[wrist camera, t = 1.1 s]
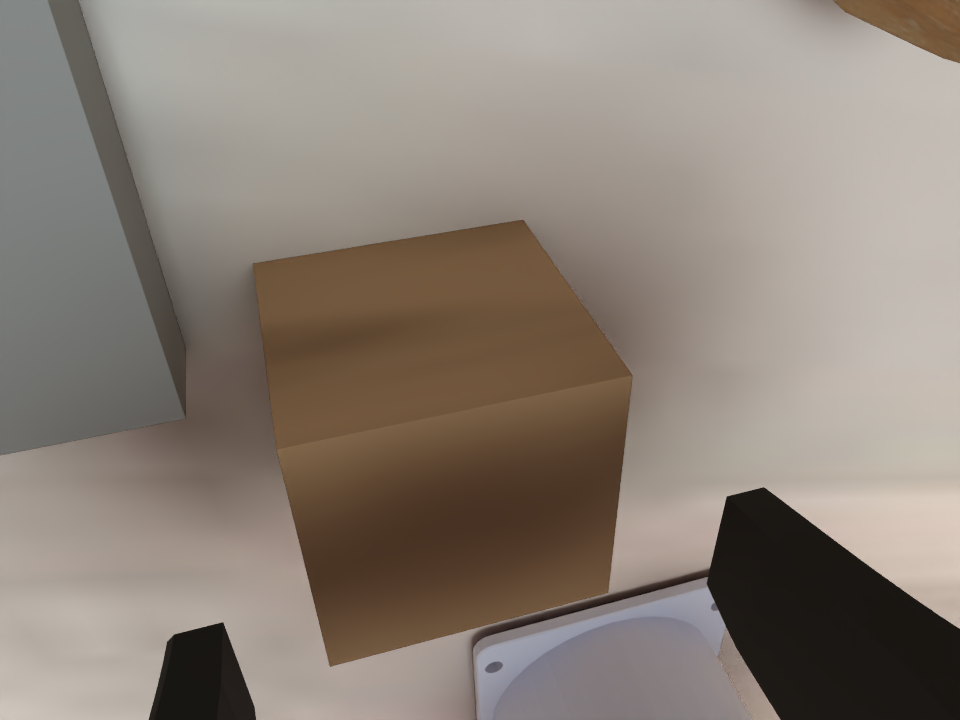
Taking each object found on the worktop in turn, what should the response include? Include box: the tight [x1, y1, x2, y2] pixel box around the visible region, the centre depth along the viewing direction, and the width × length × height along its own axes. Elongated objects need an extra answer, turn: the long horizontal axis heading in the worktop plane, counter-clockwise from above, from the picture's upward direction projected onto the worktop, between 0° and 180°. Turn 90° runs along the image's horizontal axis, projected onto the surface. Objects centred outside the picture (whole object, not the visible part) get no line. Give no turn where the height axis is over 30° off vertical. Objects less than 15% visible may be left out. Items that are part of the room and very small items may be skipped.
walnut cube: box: [253, 220, 632, 667], centre depth 15 cm, size 5×5×5 cm
